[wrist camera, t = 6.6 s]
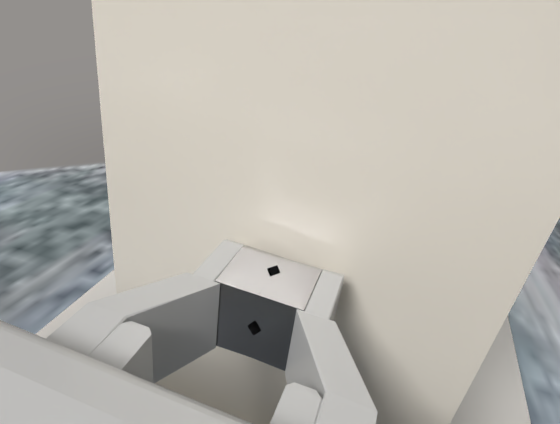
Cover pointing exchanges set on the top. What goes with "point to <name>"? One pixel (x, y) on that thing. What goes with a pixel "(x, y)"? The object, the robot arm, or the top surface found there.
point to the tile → (339, 171)
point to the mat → (476, 403)
